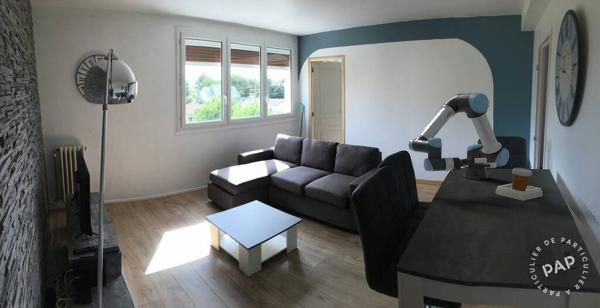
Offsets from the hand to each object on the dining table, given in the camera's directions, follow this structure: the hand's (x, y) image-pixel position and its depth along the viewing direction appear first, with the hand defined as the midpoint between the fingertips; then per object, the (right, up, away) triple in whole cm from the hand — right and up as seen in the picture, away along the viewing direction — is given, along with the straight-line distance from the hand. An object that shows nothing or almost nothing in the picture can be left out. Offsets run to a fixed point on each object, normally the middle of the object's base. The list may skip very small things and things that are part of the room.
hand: (491, 162), depth 199 cm
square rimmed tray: (+14, -18, -3) cm, 23 cm away
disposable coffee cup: (+12, -16, -6) cm, 21 cm away
